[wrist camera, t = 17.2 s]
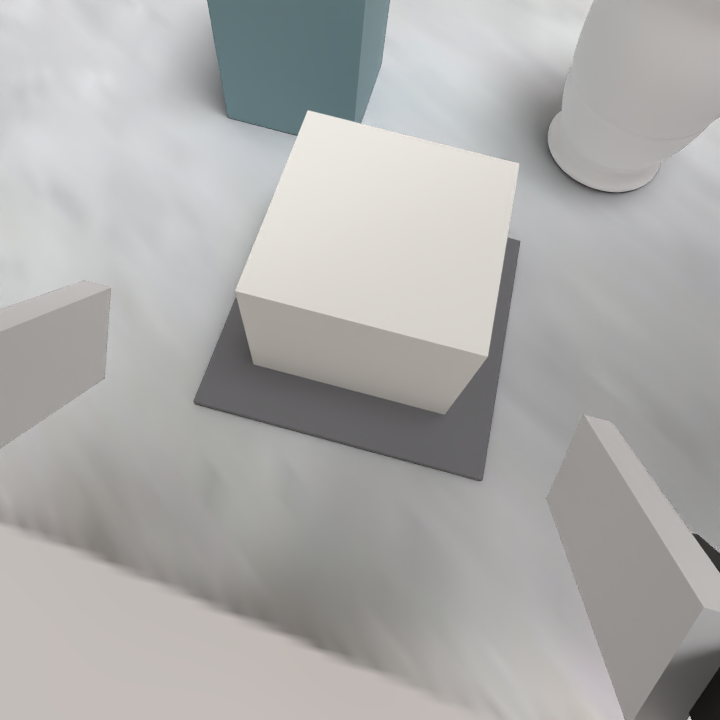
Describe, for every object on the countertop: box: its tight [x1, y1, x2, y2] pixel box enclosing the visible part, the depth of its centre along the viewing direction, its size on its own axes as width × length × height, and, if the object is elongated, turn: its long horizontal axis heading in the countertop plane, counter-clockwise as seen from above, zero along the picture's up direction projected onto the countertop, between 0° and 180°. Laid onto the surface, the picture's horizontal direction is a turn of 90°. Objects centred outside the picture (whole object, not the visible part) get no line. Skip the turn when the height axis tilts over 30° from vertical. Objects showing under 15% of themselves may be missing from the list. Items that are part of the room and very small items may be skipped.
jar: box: [548, 0, 720, 192], centre depth 33 cm, size 11×10×15 cm
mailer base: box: [207, 0, 390, 135], centre depth 33 cm, size 9×9×13 cm
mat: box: [194, 238, 520, 481], centre depth 32 cm, size 16×16×1 cm
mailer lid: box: [235, 110, 519, 415], centre depth 29 cm, size 11×11×8 cm
